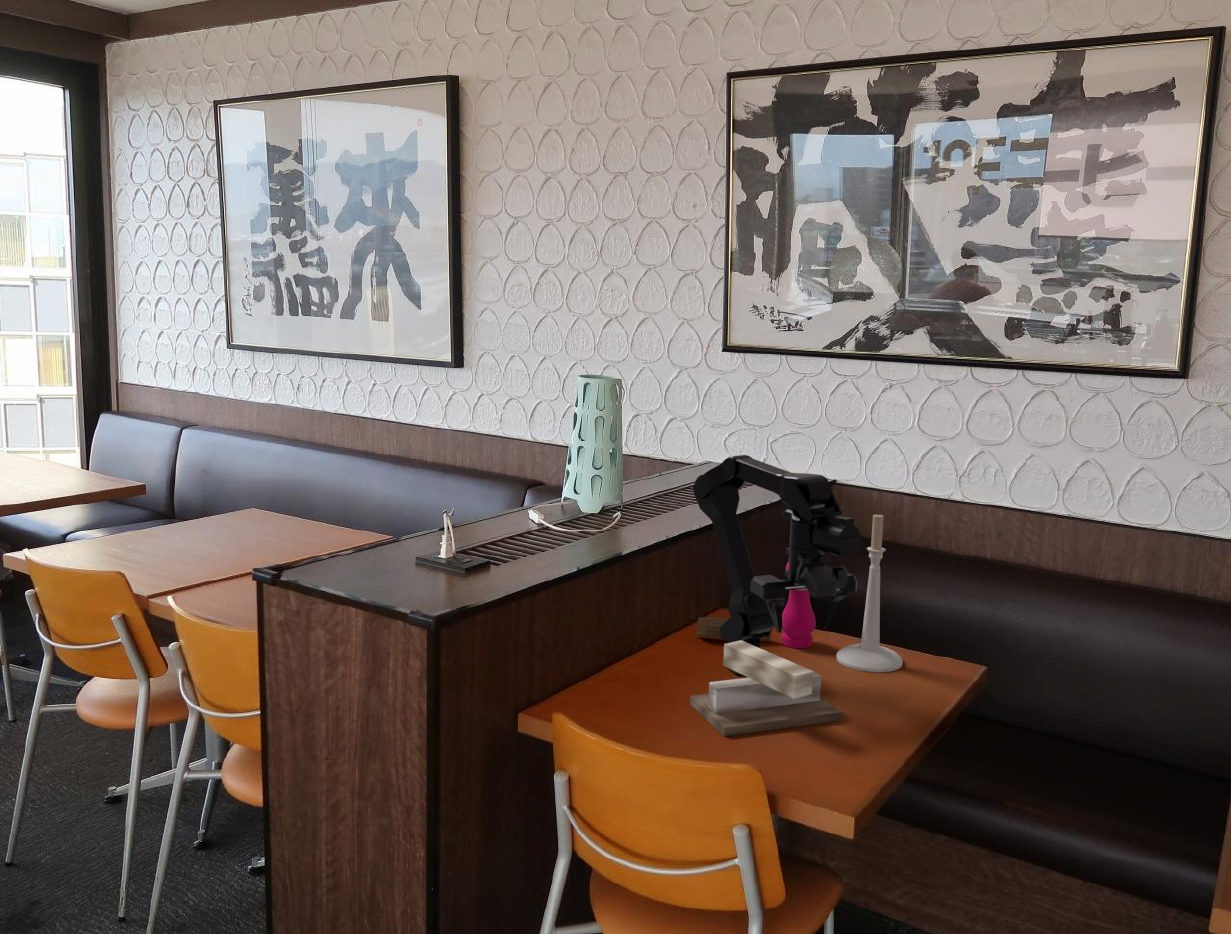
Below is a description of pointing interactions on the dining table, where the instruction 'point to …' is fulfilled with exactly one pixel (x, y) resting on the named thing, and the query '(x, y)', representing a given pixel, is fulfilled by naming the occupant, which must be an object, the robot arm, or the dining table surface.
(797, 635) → the pepper mill
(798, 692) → the cream beige bar
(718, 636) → the wood plank
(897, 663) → the candlestick
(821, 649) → the dining table surface
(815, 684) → the ridge stand
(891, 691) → the dining table surface
